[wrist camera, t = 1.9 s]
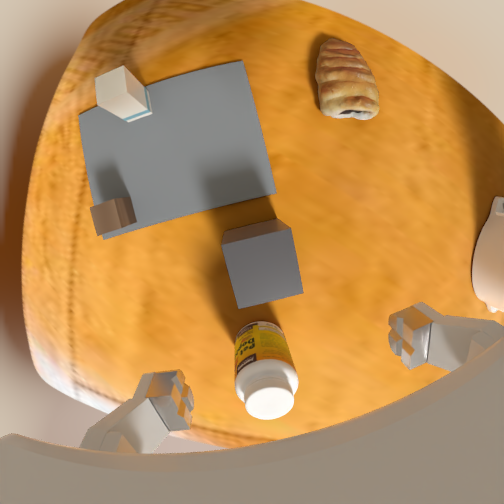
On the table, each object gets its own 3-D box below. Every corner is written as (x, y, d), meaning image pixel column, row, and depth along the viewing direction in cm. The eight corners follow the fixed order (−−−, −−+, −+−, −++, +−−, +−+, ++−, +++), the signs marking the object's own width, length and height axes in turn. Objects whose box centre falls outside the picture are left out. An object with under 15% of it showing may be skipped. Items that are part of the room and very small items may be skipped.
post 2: (130, 196, 25) (114, 198, 21) (137, 222, 25) (121, 228, 21) (108, 204, 25) (89, 207, 21) (115, 229, 25) (97, 236, 21)
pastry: (303, 43, 23) (312, 27, 19) (359, 48, 23) (373, 34, 19) (318, 121, 25) (331, 111, 21) (376, 121, 25) (394, 114, 21)
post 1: (148, 91, 22) (123, 65, 16) (152, 113, 23) (127, 92, 16) (124, 100, 22) (94, 78, 16) (128, 122, 23) (97, 105, 16)
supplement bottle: (248, 310, 29) (255, 370, 19) (293, 330, 29) (317, 389, 19) (225, 350, 30) (223, 415, 20) (269, 367, 30) (281, 431, 20)
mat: (242, 62, 23) (242, 60, 22) (275, 193, 26) (276, 193, 26) (80, 116, 23) (78, 115, 22) (105, 239, 26) (103, 239, 25)
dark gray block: (277, 218, 27) (290, 228, 20) (288, 269, 28) (303, 293, 21) (224, 231, 26) (221, 245, 20) (237, 281, 28) (238, 309, 21)
